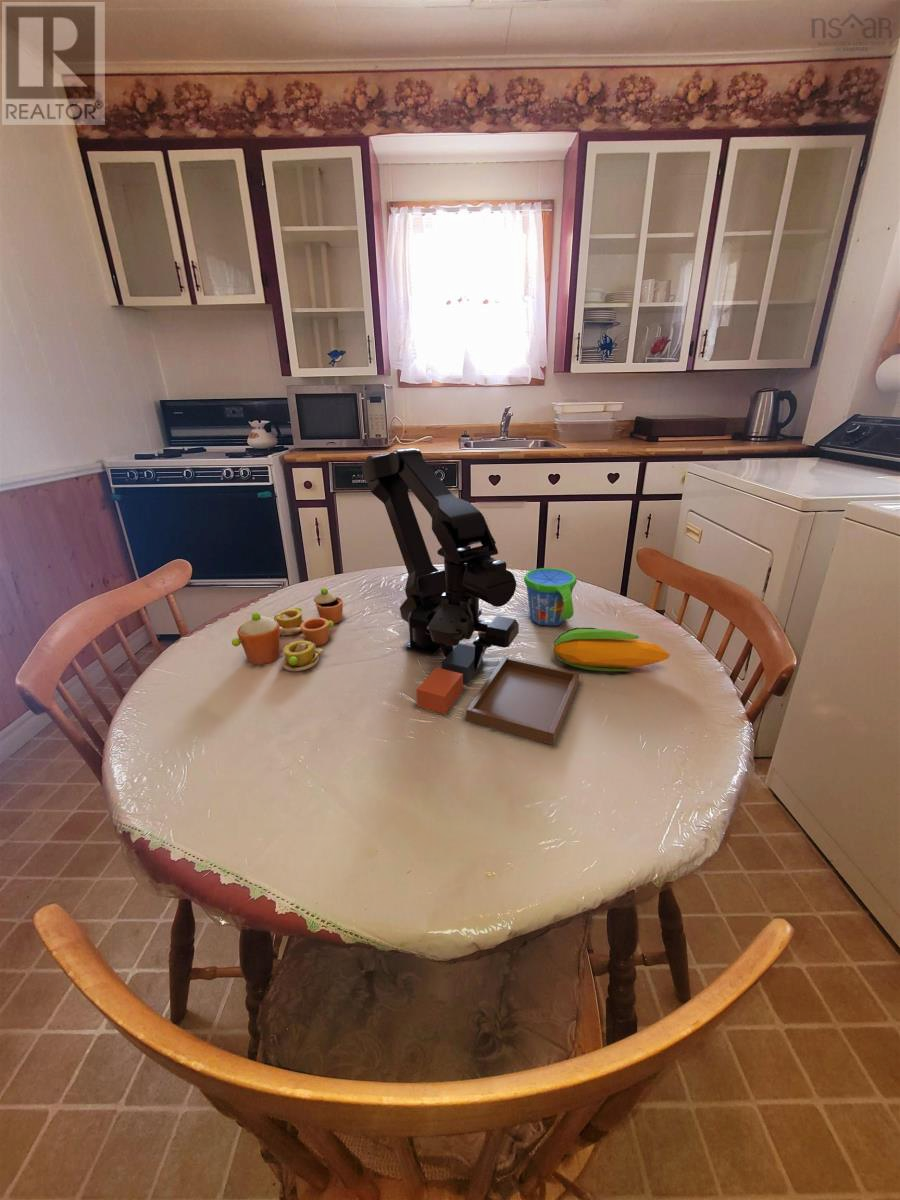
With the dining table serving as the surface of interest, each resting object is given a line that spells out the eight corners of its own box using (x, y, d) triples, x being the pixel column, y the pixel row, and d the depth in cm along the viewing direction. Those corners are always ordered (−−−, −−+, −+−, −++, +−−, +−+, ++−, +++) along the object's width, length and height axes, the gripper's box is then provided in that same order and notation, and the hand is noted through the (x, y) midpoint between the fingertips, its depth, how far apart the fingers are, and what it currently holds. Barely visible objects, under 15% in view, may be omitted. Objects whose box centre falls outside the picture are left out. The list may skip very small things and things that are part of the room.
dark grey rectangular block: (442, 677, 86) (441, 661, 84) (458, 658, 91) (458, 643, 90) (468, 684, 84) (467, 667, 82) (483, 664, 89) (483, 648, 88)
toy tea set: (311, 677, 87) (304, 630, 83) (230, 673, 88) (219, 626, 84) (354, 613, 110) (350, 574, 106) (290, 611, 112) (283, 572, 108)
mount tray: (466, 720, 75) (466, 709, 74) (503, 666, 89) (504, 656, 88) (553, 745, 69) (554, 734, 69) (578, 683, 83) (579, 672, 82)
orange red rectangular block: (417, 706, 78) (416, 689, 77) (437, 683, 84) (436, 667, 83) (445, 714, 76) (444, 696, 75) (463, 690, 82) (462, 673, 81)
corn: (554, 617, 89) (668, 622, 86) (551, 651, 93) (660, 657, 90) (555, 639, 83) (678, 646, 80) (552, 674, 86) (670, 682, 83)
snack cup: (512, 607, 111) (513, 565, 107) (555, 602, 113) (558, 561, 109) (538, 639, 97) (541, 593, 93) (586, 633, 99) (591, 587, 95)
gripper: (388, 594, 78) (395, 676, 84) (497, 615, 70) (495, 703, 77) (421, 571, 87) (425, 646, 93) (521, 587, 79) (517, 668, 86)
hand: (462, 665), depth 87 cm, fingers closed on dark grey rectangular block, 5 cm apart
